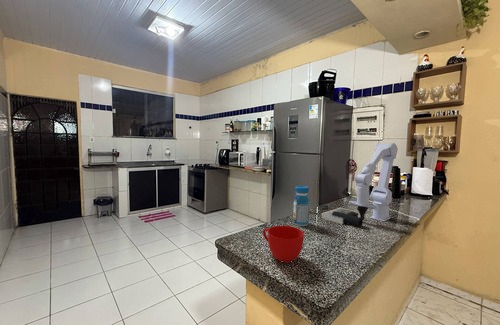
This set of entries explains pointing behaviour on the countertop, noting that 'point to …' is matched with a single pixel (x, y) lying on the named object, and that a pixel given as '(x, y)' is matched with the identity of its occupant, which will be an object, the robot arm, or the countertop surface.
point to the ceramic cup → (284, 242)
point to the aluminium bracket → (337, 219)
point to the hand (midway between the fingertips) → (362, 219)
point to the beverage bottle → (301, 206)
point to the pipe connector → (350, 218)
